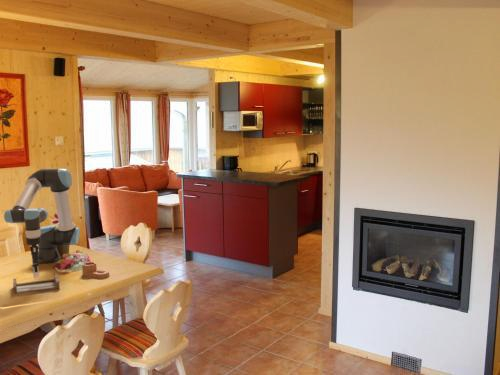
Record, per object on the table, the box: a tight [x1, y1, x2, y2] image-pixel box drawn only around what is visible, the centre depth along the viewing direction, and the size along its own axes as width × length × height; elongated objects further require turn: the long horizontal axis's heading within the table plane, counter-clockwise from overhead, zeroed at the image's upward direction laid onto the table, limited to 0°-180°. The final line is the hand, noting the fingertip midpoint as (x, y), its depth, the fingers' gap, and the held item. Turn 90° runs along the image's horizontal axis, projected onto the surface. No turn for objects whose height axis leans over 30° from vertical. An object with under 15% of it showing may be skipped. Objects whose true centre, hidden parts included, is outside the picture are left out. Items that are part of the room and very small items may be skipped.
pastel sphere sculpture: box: [52, 249, 92, 273], centre depth 320 cm, size 25×24×9 cm
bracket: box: [81, 261, 110, 279], centre depth 301 cm, size 18×8×7 cm, turn 65°
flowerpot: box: [52, 213, 70, 257], centre depth 346 cm, size 14×14×30 cm
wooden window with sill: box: [12, 273, 60, 297], centre depth 277 cm, size 17×23×4 cm
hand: (35, 273), depth 277 cm, fingers open, 13 cm apart
